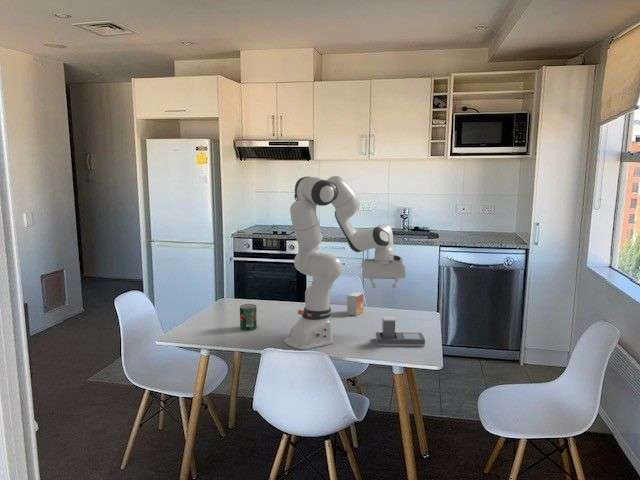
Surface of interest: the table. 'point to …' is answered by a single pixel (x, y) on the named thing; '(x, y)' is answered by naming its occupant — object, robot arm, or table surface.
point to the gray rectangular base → (401, 339)
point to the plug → (388, 327)
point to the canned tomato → (248, 317)
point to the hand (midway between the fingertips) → (383, 287)
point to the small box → (355, 304)
